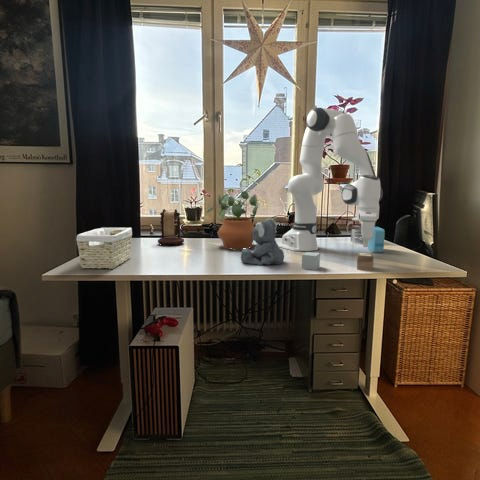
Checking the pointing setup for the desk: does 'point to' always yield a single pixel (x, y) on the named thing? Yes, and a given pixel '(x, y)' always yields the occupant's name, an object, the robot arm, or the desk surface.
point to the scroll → (170, 228)
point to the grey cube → (310, 260)
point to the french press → (353, 235)
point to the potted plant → (236, 222)
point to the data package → (377, 240)
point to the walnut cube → (365, 261)
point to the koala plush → (264, 245)
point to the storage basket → (104, 247)
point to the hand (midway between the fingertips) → (365, 246)
